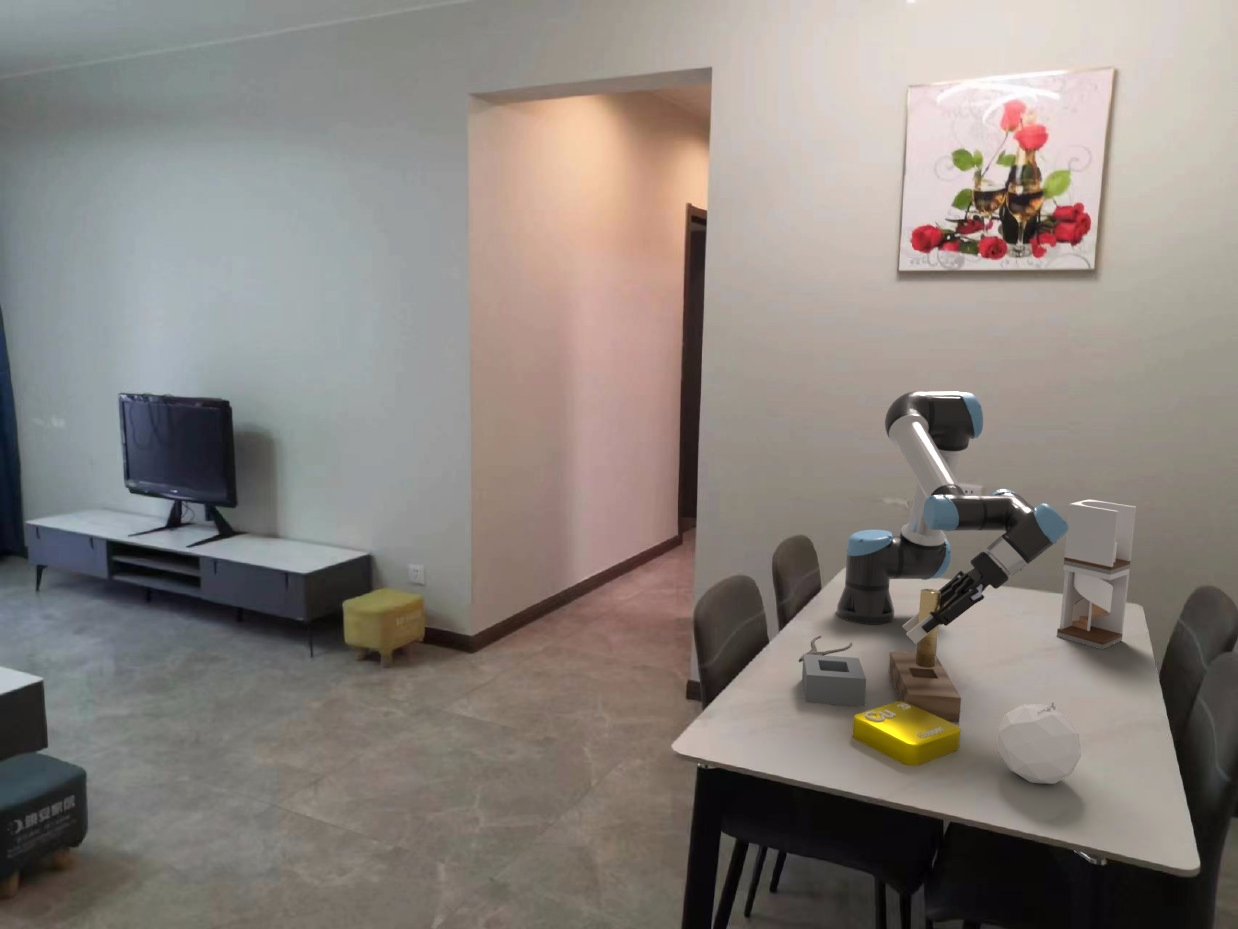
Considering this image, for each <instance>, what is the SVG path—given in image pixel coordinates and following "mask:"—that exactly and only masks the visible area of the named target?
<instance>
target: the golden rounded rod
mask: <svg viewBox="0 0 1238 929" xmlns="http://www.w3.org/2000/svg"><path fill="white" fill-rule="evenodd" d="M940 598H941V592H940V591H939V590H937V589H932V588H923V589H920V594H919V608H918V609H919V610H918V613H919V621H918V623H920V622H921V621H922V620H923V619H925V618H926V617H927V616H928V615H930V612H931V611H932V612H934V613H935V612H936V611H937V610H938V609H940ZM938 634H939V626H937V627H936V628H935V629H934V630H932V631H931V632H930V633H929V634H927V635H926V636H925V637H924V638H922V639H921V640H920V641H919V642H917V643H916V649H915V650H916V651H915V653H916V661H915V663H916V665H918V666H921V667H925V668H932V667H935V662H936V656H937V648H938Z"/></svg>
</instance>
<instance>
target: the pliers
mask: <svg viewBox="0 0 1238 929" xmlns="http://www.w3.org/2000/svg"><path fill="white" fill-rule="evenodd" d="M821 638H822V635H818V636H815V637H813V639H812V640H811V641H810V645H811V646H810V647H811V650H810V651H808V652H805V654H809V655H824V656H827V655H829V654H832V653H833V654H834V653H838V652H843V651H846V650H848V649H850V648H851V647H853V642H849V644H848V645H847V646H844V647H842V648H837V649H836V648H835V649H830V650H825V651H818V649H817V647H816V644H815V642H816V640H818V639H821ZM798 661H799V662H803V655H801V656H800V657H799V660H798Z"/></svg>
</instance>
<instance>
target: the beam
mask: <svg viewBox="0 0 1238 929" xmlns="http://www.w3.org/2000/svg"><path fill="white" fill-rule="evenodd" d="M915 661H916V652H901V651H889V662H888V663H889V665H888V673H889V676H890V679H891V680H892V683H893V686H894V687H895V690H896V694H897V696H898V699H899V701H904V702H906V703H909V704H911V705H913V706H916V707H918V708H920V709H922V710H924V711H927V712H929V713H931V714H933V715H936V716H938V717H940V718H942V719H944V720H947V721H949V722H960V717H961V716H960V715H961V705H962V704H961V701H962V697H961V695H960V694H959V692H958V690H957V688H956V687H955V685H954V683H953V681H952V680H951V678H950V677H949V675H948V673H947V671H946V670H945V668H944V666H943V665H942V663H941V661H940V660H939V657H938V656H937V655H936V662H935V667H932V668H925V667H921V666H918V665H916V663H915Z"/></svg>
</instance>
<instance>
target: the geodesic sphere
mask: <svg viewBox="0 0 1238 929" xmlns="http://www.w3.org/2000/svg"><path fill="white" fill-rule="evenodd" d="M1054 704H1055V702H1051V706H1050V705H1048V704H1046V703H1035V704H1034V703H1022V704H1021V705H1019V706H1017V707H1015V708H1013V709H1011V710H1010V711H1008V712H1006V713H1005V715H1004V717H1003V719H1002V721H1001V724H1000V725H999V727H998V730H997V753H998V754H999V756H1000V757H1001V759H1002V760H1003V762H1005V763H1004V764H1006V766H1007V767H1008V768H1009V770H1010V771H1011V772H1013V773H1015V774H1016V775H1018V776H1020V777H1021V778H1023V779H1024V780H1026V781H1027V782H1029V783H1031V784H1045V785H1046V784H1049V785H1055V784H1057V783H1058V782H1060V781H1061V780H1063V779H1065V778H1067V777H1069V776H1071V775H1072V774H1073V773H1074V770H1075V768H1076V767H1077V765H1078V763H1079V761H1080V760H1081V757H1082V752H1081V751H1082V749H1081V740H1080V733H1079V731H1078V730H1077V728H1076V727H1075V726H1074V724H1073V722H1072V721H1071V720H1070V718H1069V717H1068V716H1067V715H1066V714H1063V713H1062V712H1060V711H1058V710H1057V706H1056V705H1054Z"/></svg>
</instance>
